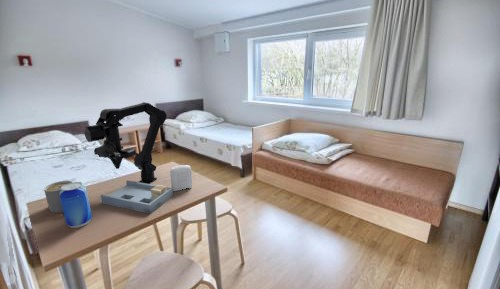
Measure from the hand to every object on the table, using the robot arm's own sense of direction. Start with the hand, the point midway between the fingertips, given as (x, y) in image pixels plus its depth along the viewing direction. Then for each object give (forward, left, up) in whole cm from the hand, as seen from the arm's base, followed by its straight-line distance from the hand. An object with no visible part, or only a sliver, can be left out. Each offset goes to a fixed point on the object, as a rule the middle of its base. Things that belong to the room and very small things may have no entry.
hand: (117, 168), depth 120 cm
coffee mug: (+20, -11, -12) cm, 26 cm away
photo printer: (-12, +27, -12) cm, 32 cm away
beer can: (+26, +5, -12) cm, 29 cm away
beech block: (+1, +23, -10) cm, 25 cm away
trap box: (+4, +14, -12) cm, 18 cm away
